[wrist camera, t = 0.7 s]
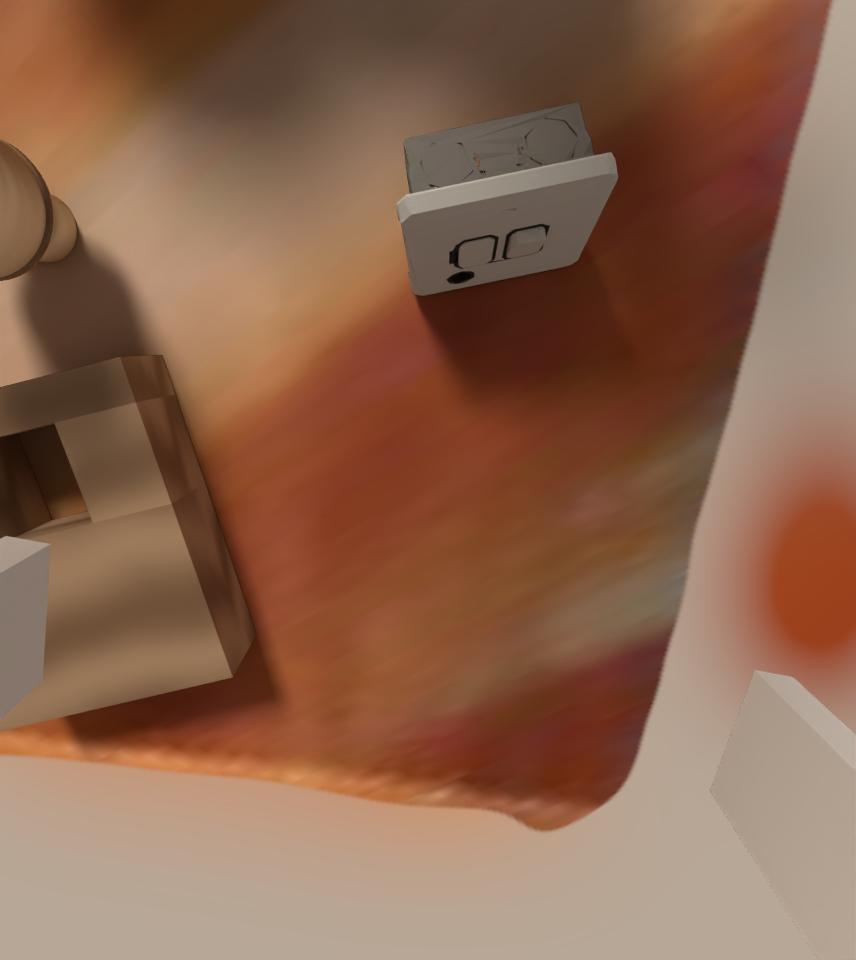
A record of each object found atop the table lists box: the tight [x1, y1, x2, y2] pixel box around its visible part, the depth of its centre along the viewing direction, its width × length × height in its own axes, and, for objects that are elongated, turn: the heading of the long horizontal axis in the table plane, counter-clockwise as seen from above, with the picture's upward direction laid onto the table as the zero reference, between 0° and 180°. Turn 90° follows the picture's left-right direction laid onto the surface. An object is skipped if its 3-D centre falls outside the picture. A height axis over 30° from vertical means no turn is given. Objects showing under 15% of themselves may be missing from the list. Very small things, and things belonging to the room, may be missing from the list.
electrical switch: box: [396, 102, 618, 296], centre depth 29 cm, size 9×5×9 cm, turn 101°
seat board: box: [0, 355, 256, 731], centre depth 34 cm, size 18×14×5 cm
